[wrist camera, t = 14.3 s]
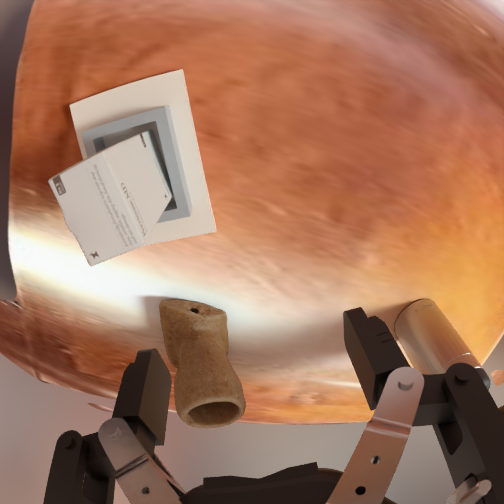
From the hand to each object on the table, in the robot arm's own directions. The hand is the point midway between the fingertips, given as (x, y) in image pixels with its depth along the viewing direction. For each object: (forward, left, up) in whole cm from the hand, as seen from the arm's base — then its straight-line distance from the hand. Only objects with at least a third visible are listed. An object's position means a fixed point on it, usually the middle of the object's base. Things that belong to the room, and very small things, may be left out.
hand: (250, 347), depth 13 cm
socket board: (+3, +10, -28) cm, 30 cm away
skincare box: (+3, +10, -27) cm, 29 cm away
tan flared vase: (-24, +9, -28) cm, 38 cm away
